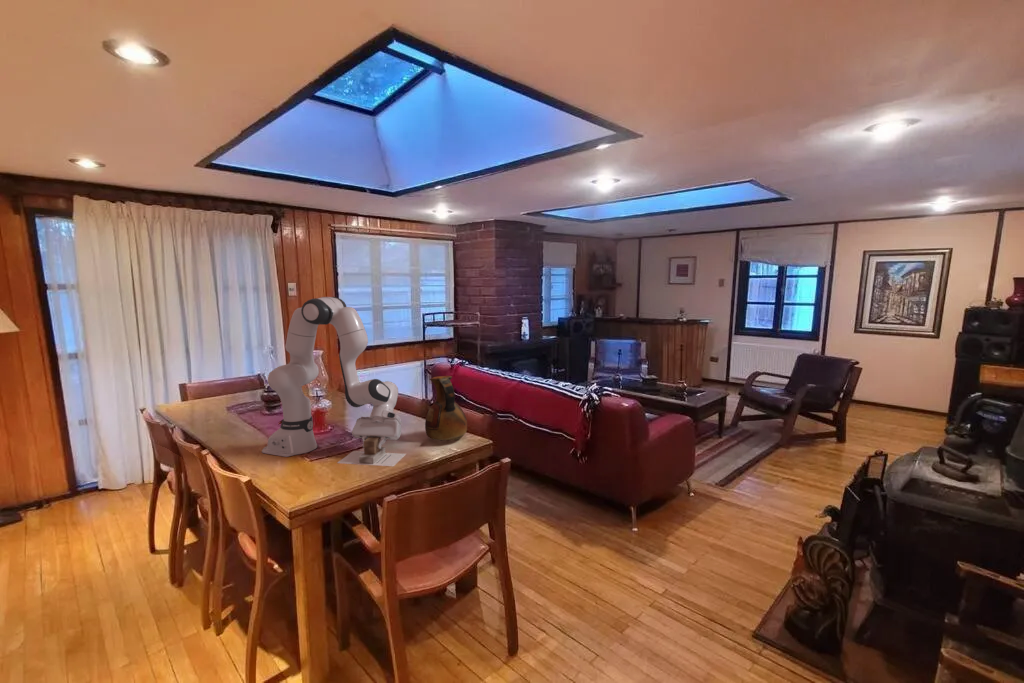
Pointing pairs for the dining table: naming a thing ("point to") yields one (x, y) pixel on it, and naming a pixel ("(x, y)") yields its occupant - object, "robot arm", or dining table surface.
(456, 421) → the ceramic pitcher
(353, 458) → the board
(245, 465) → the dining table surface
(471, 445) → the dining table surface
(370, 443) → the sanding block
